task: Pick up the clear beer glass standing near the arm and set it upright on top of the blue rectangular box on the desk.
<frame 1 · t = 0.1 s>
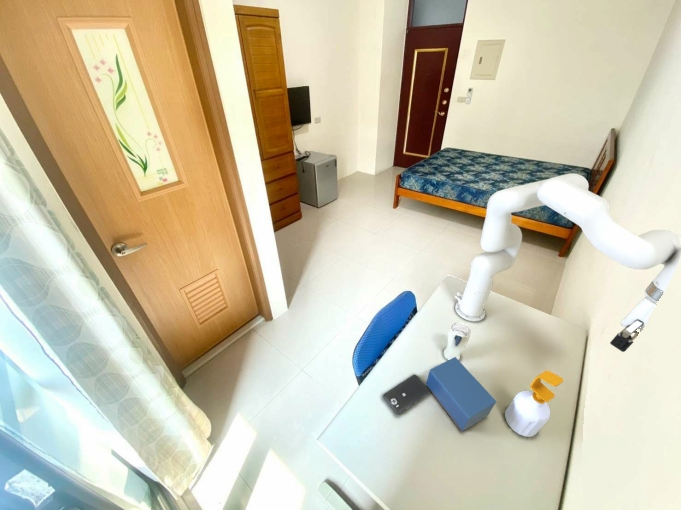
hand: (626, 340, 76), 31 cm above the table, tool pointing down, fingers open, 9 cm apart
beer glass: (451, 355, 108), on the table
soap bottle: (520, 422, 88), on the table
blue rectangular box: (454, 400, 94), on the table
smartphone: (406, 394, 96), on the table
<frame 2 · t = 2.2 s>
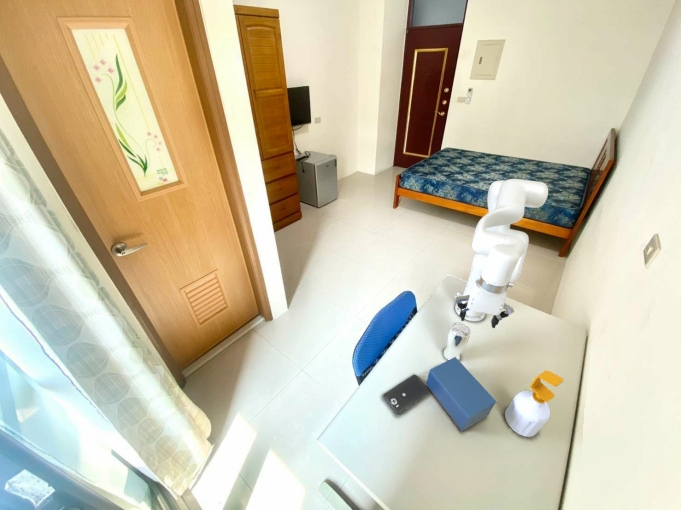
hand: (477, 321, 95), 21 cm above the table, tool pointing down, fingers open, 9 cm apart
nothing on the table moved.
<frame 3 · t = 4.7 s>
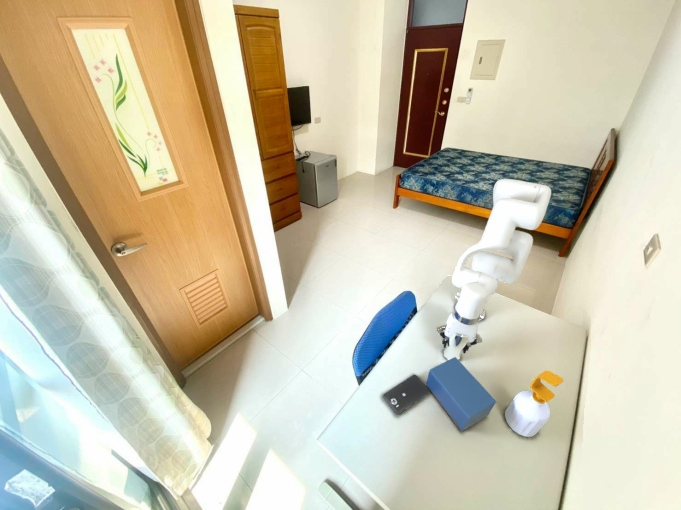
hand: (454, 347, 106), 5 cm above the table, tool pointing down, fingers closed on beer glass, 6 cm apart
beer glass: (451, 355, 108), on the table, touching gripper
everything else where it was.
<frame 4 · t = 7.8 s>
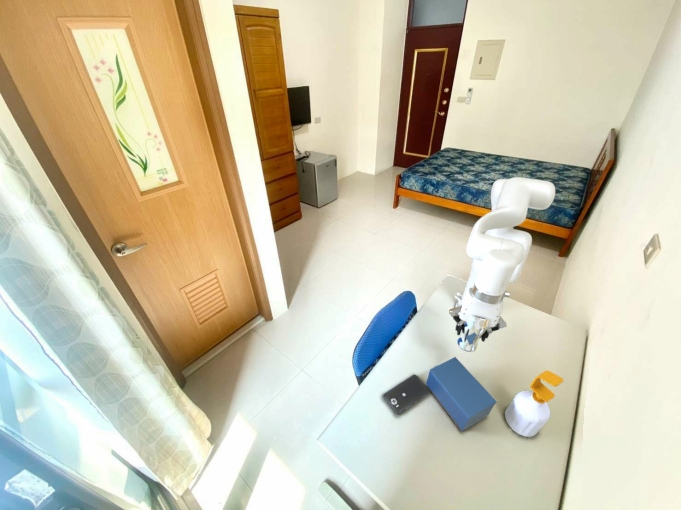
hand: (470, 334, 87), 24 cm above the table, tool pointing down, fingers closed on beer glass, 6 cm apart
beer glass: (466, 344, 89), point 19 cm above the table, touching gripper
everything else where it was.
when the fingers open (15 cm above the table, at t = 11.1 s): beer glass stays where it is, resting on blue rectangular box.
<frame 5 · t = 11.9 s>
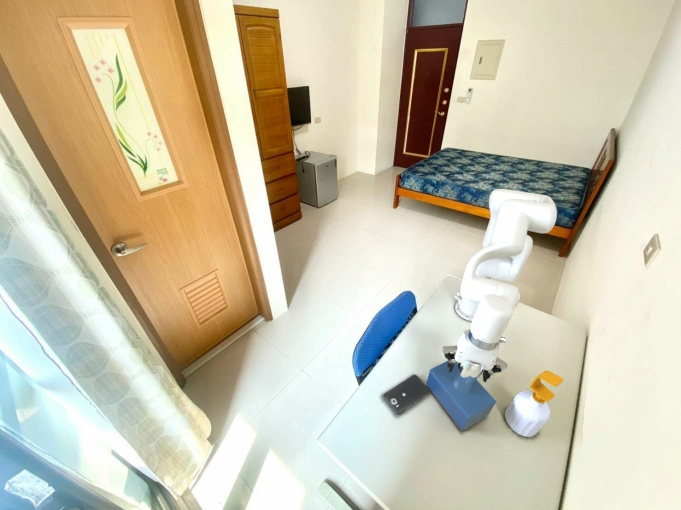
hand: (466, 372, 85), 16 cm above the table, tool pointing down, fingers open, 9 cm apart
beer glass: (461, 384, 88), point 10 cm above the table, touching blue rectangular box
everything else where it was.
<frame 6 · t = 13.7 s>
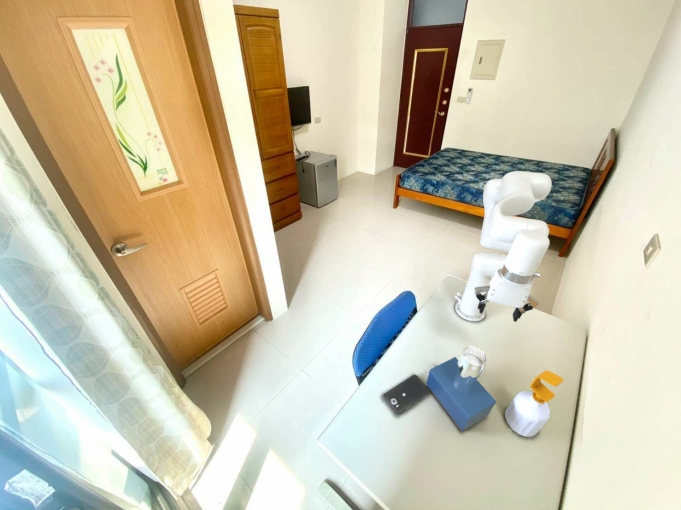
hand: (497, 314, 88), 28 cm above the table, tool pointing down, fingers open, 9 cm apart
nothing on the table moved.
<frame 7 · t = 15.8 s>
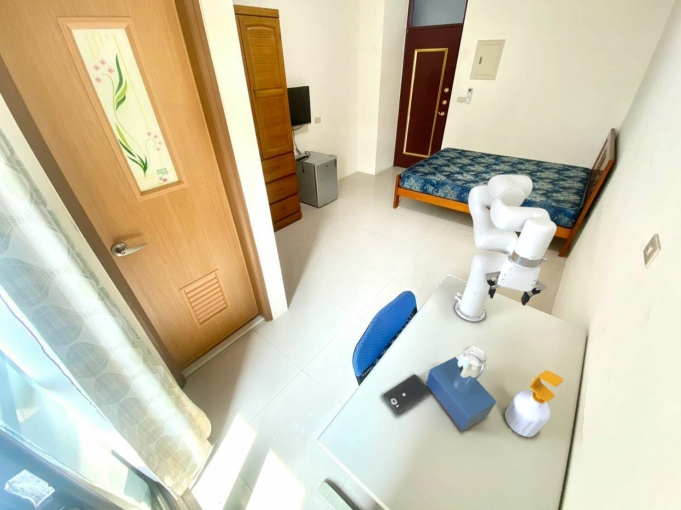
hand: (506, 299, 93), 28 cm above the table, tool pointing down, fingers open, 9 cm apart
nothing on the table moved.
at the end: beer glass inside the target area on the blue rectangular box (0.1 cm from its centre), point 9.8 cm above the blue rectangular box's base; beer glass tilted 0°; the gripper is holding nothing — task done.
